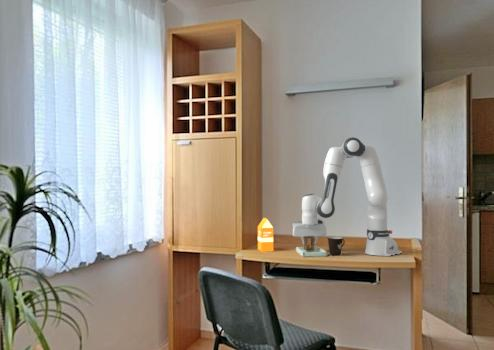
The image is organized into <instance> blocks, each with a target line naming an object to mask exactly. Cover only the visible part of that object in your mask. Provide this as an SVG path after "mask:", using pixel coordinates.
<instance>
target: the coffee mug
mask: <svg viewBox="0 0 494 350" xmlns="http://www.w3.org/2000/svg"><path fill="white" fill-rule="evenodd" d="M345 243H346V242H345V239H344V238H343V237H342V236H329V237H327V244H328V251H329V256H333V257H341V256H342V248H343V247H344V245H345Z"/></svg>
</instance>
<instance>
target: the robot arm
mask: <svg viewBox="0 0 494 350" xmlns="http://www.w3.org/2000/svg"><path fill="white" fill-rule="evenodd" d="M354 157H356V158H357V160H358V161H359V166H360V170H361V174H362V179H363V183H364V187H365V191H366V195H367V196H366V197H367V198H366V201H367V229H366V236H367V237H366V243H365V250H364V253H365V254H366V255H371V256H378V257H379V256H381V257H383V256H384V257H385V256H386V257H392V256H391V255H393V256H396V255H395V254H397V255H401V254H403V251H402V250H399V248H398V247H399V246H398V245H399V244H398V242H397V241H396V240H394V239H393V238H392V237H391V235H393V230H390V229H389V230H388V211H387V209H388V208H387V207H388V206H387V202H388V199H389V196H388V192H387V188H386V184H385V179H384V177H383V173H382V168H381V162H380V159H379V155H378V153H377V151H376V149H375V148H374V147H373V146H370V145H369V146H367V145H365V144H364V143H363V142H362V141H361V140H360V139H359V138H357V137H354V136H353V137H348V138H346V139H345V140H344V141H343V143H342V145H341V146H332V147H330V148H329V149H328V152H327V154H326V156H325V159H324V162H323V163H324V164H323V170H322V176H323V178H324V187H323V188H324V190H323V193H322V197H320V196H318V195H316V193H309V194H305V195H303V196H302V199H301V211H302V212H301V220H295V221H293V222H292V224H291V227H292V234H291V235H292V236H293V237H294V238H298V237H299V238H300V239H301V241H302V244H303V245H304V244H306V241H304V237H310V236H313V237H314V245H316V244H317V240H318V238H319V237H326V236H327V226H326V225H325V220H323V219H328V218H330V217H332V216H333V215H334V214H335V210H336V209H335V208H336V207H335V204H334V203H335V202H334V201H335V200H334V198H335V193H336V189H337V184H338V182H339V180H340V177H341V174H342V171H343V165H344V162H345V160H346V159H348V158H354ZM317 215H319V216H320V217H321V218H323V219H321V218H317ZM400 253H401V254H400Z"/></svg>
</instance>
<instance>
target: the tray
mask: <svg viewBox="0 0 494 350" xmlns="http://www.w3.org/2000/svg"><path fill="white" fill-rule="evenodd" d="M295 252H296V253H298V254H299V255H300V256H301V257H302V258H314V257H317V258H318V257H320V258H321V257H328V251H326V250H325V249H323V248H321V247H320V246H314V251H306V250H304V246H296V247H295Z"/></svg>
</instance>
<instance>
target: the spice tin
mask: <svg viewBox="0 0 494 350" xmlns="http://www.w3.org/2000/svg"><path fill="white" fill-rule="evenodd" d="M308 239H309V240H310V245H311V246H312V247H309V248H307V246H308ZM303 240H304V241H306V244H303V247H304V250H306V251H314V247H315V244H314V240H315V236H310V237H304V238H303Z"/></svg>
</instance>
